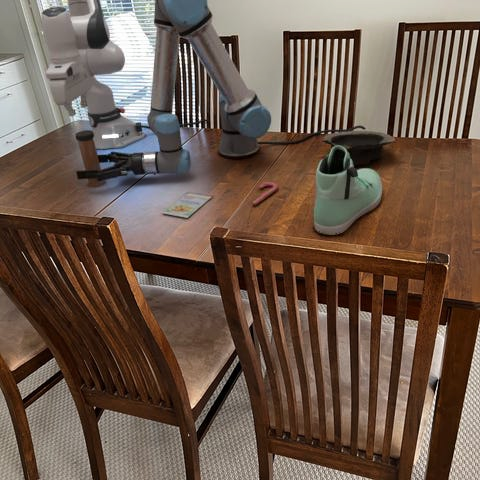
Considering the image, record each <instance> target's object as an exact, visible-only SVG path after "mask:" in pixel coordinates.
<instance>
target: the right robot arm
mask: <svg viewBox="0 0 480 480" xmlns="http://www.w3.org/2000/svg"><path fill="white" fill-rule="evenodd" d="M213 17H214V16H213V13H212V11H211V9H210V8H209V5H208V0H154V15H153V25H154V26H155V28H156V33H155V45H154V46H155V47H154V58H153V71H152V85H151V97H150V109H149V112H148V114H147V118H146V121H147V125H148V126H149V127H150V128H151V129H150V131H151V132H152V131H153V132H154V135H155V136H156V137H157V143H158V147H159V150H158V151H157V150H155V151H145V152H132V153H127V152H120V151H110V153H106V154H98V158H99V163H100V164H104V163H105V164H106V163H109V164H111V163H113V165H112V166H108V167H105V168H101V170H97V169H95V170H85V169H84V170H76V172H75V173H76V176H77V177H76V178H77V180H88V179H93V178H97V181H103V180H104V181H106V180H111V179H114V178H115V179H116V178H119V177H127V176H128V172H132V173H133V175H135V176H145V175H154V176H157V175H159V174H180V173H181V174H182V173H188V172H189V171H191V166H192V161H191V160H192V158H191V153H190V150H188V149H184V148H183V145H182V136H181V129H180V128H181V127H180V125H181V124H180V122H179V118H178V116H177V115H176V114H174V113H173V108H174V99H175V89H176V88H175V87H176V78H177V69H178V59H179V51H180V50H179V49H180V38H183V39H186V40H187V41H188V42H189V44H190V46H191V48H192V49H193V51H194V52H195V54H196V56H197V57H198V59H199V62H200V63H201V64H202V65H203V68H204V69H205V71H206V72H207V75H208V76H209V77H210V79H211V81H212V82H213V84H214V86H215V88H216V90H218V92H219V96H218V98H219V100H218V104H219V112H220V123H221V133H222V134H221V137H220V143H219V145H218V152H219V155H220V156H222V158H223V157H224V158H227V159H237V160H238V159H246V158H250V157H253V156H255V155H256V154H258V153H259V152H260V145H290V144H298V143H301V142H304V141H305V140H306V139H308V138H310V137H313V136H317V135H320V134H325V133H337V132H344V131H345V132H348V131H355V130H357V129H362V130H363V131H366V127H365V126H364V125H356V126H352V127H350V128H345V129H344V128H343V129H323V130H319V131H315V132H312V133H308V134H307V135H305V136H303V137H302V138H299V139H296V140H289V141H258V139H260V138H261V137H263V136H264V135H265V134H267V132H268V131H269V129H270V126H271V124H272V115H271V112H270V111H269V109H268V108H267V107H266V106H264V105H263V104H262V102H261V100H260V99H259V97H258V95H257V93H256V91H255V90H254V89H251V88H248V87H247V85H246V83H245V81H244V79H243V77H242V76H241V74H240V72H239V71H238V68H237V67H236V65H235V63H234V61H233V60H232V58H231V57H230V54H229V52H228V51H227V49H226V47H225V46H224V44H223V42H222V40H221V38H220V37H219V34H218V33H217V31H216V29H215V28H214V25H213V23H212V22H213ZM153 132H152V133H153Z"/></svg>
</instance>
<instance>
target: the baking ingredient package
mask: <svg viewBox="0 0 480 480" xmlns="http://www.w3.org/2000/svg"><path fill="white" fill-rule="evenodd" d="M211 198H212V196H209V195H204V194H197V193H192V192H187V193H186V194H184V195H183V196H182V197H181V198H180V199H178V200H177V201H175V203H173V204H172V205H170V206H169V207H168V208H167V209H165V210H164V211H163V212H162V214H165V215H168V216H169V215H171V216H175V217H180V218H189V217H190V216H191V215H192V214H194V213H195V212H196V211H197V210H198V209H199V208H201V207H202V206H203V205H204V204H205V203H207V202H208V201H209V200H210V199H211Z"/></svg>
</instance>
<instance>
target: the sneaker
mask: <svg viewBox="0 0 480 480" xmlns="http://www.w3.org/2000/svg"><path fill="white" fill-rule="evenodd" d="M317 165H318V166H317V168H316V172H315V201H314V207H313V225H314V229H315V231H316V232H318V233H320V234H323V235H326V236H327V235H328V236H336V235H339V234H342V233H344V232H345V231H347V230H348V229H349V228H350V227H351V226H352V225H353V224H354V222H356V221H357V220H358V219H359V218H360V217H362V216H363V215H365V214H367V213H370V212H372V210H374V209H375V208H377V207H378V205H380V203H381V200H382V196H383V184H382V183H383V182H382V179H381V176H380V175H379V173H378V172H377V171H376V170H374V169H372V168H367V167H365V168H358V169H357V168H355V166H353V161H352V159H350V156H349V153H348V152H347V150H346V149H345V148H344V147H342V146H334V147H333V148H332V149H330V151H329V154H327V155H326V156H325V157H324V158H322V159H321V160H320V161H319V163H318V164H317ZM343 230H344V231H343ZM319 231H320V232H319ZM322 232H323V233H322ZM339 232H340V233H339ZM326 233H327V234H326ZM328 233H329V234H328ZM335 233H337V234H335Z"/></svg>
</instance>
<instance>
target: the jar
mask: <svg viewBox="0 0 480 480" xmlns="http://www.w3.org/2000/svg"><path fill="white" fill-rule="evenodd" d="M77 143H78V147H79V151H80V155H81V158H82V162H83V167H84V170H95V169H97V170H102V168H101V163H99V158H98V155H99V154H98V150H97V148H96V146H95V142H94V138H92V139H90V140H86V141H78V140H77ZM87 182H88V186H89V187H92V188H96V187H101V186H102V185H104V184H105V180H103V181H97V178H93V179H87Z"/></svg>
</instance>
